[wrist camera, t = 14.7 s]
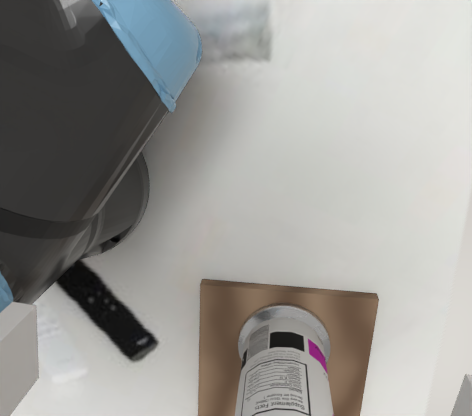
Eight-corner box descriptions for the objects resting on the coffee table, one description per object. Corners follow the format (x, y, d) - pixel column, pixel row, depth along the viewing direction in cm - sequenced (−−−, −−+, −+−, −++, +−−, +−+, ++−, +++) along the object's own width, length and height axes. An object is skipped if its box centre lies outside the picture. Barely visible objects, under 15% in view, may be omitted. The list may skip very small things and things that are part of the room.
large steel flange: (237, 374, 48) (236, 381, 48) (240, 298, 45) (240, 303, 44) (324, 383, 48) (325, 390, 47) (334, 306, 45) (335, 312, 44)
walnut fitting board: (199, 453, 54) (197, 462, 53) (202, 279, 46) (200, 284, 45) (347, 471, 53) (349, 480, 52) (376, 293, 45) (378, 299, 44)
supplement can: (339, 337, 45) (366, 465, 30) (296, 392, 47) (303, 535, 33) (269, 299, 44) (263, 413, 30) (230, 358, 47) (208, 488, 32)
